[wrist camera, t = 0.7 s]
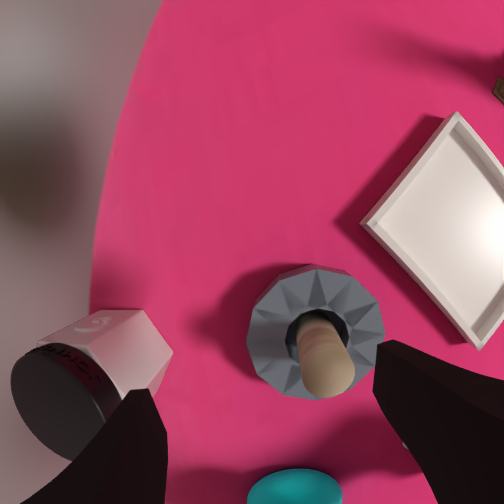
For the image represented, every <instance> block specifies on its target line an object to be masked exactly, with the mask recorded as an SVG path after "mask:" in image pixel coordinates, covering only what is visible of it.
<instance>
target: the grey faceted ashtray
mask: <svg viewBox="0 0 504 504" xmlns="http://www.w3.org/2000/svg"><path fill="white" fill-rule="evenodd" d="M313 310H316V311H321V312H323V313H325V314H326V315H327V316H328V317H329V318H330V320H331V322H332V324H333V326H334V328H335V330H336V331H337V333H338V335H339V337H340V339H341V341H342V343H343V345H344V346H345V348H346V350H347V352H348V354H349V356H350V358H351V360H352V362H353V364H354V367H355V376H354V379H353V381H352V383H351V385H350V386H349V387H348V388H347V389H346V390H345V391H348V390H350V389H351V388H352V387H353V386H354V385H356V384H357V383H358V382H359V381H360V380H361V379H362V378H363V377H364V376H365V375H366V374H367V373H368V372H369V371H370V370H371V369H372V368H373V367H374V366H375V363H376V352H377V344H380V343H383V340H384V336H385V331H384V326H383V321H382V317H381V312H380V308H379V304H378V301H377V300H376V299H375V298H374V297H373V296H372V295H371V294H370V293H369V292H368V291H367V290H366V289H365V288H364V287H363V286H362V285H361V284H360V283H359V282H358V281H357V280H356V279H355V278H354V277H353V276H351V275H350V274H349V273H347V272H346V271H344V270H339V269H334V268H330V267H325V266H321V265H316V264H309V265H306V266H303V267H300V268H297V269H293V270H290V271H287V272H284V273H281V274H279V275H278V276H277V277H276V278H275V279H274V280H273V281H272V282H271V283H270V284H269V285H268V287H267V288H266V289H265V290H264V291H263V292H262V293H261V294H260V295H259V296H258V297H257V298H256V300H255V304H254V307H253V312H252V316H251V321H250V325H249V330H248V334H247V339H246V345H247V348H248V351H249V354H250V357H251V359H252V362H253V365H254V368H255V370H256V373H257V375H258V376H260V377H261V378H262V379H263V380H265V381H266V382H267V383H268V384H270V385H271V386H272V387H274V388H275V389H276V390H277V391H279V392H280V393H281V394H282V395H287V396H292V397H298V398H304V399H310V400H319V399H323V397H318V396H315V395H313V394H311V393H310V392H309V391H307V389H306V388H305V386H304V384H303V381H302V375H301V368H300V361H299V354H298V348H297V341H296V334H295V325H296V322H297V320H298V318H299V317H300V316H301V315H302V314H304V313H306V312H308V311H313ZM345 391H344V392H345Z"/></svg>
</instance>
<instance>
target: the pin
mask: <svg viewBox="0 0 504 504" xmlns="http://www.w3.org/2000/svg"><path fill="white" fill-rule="evenodd" d="M295 334H296V341H297V348H298V354H299V361H300V368H301V375H302V381H303V384H304V386H305V388H306V389H307V391H309V392H310V393H311V394H313V395H315V396H318V397H323V398H328V397H333V396H337V395H339V394H341V393H342V392H344V391H345V390H346V389H347V388H348V387H349V386H350V385H351V383H352V381H353V379H354V376H355V367H354V364H353V362H352V360H351V358H350V356H349V354H348V352H347V350H346V348H345V346H344V345H343V343H342V341H341V339H340V337H339V335H338V333H337V331H336V330H335V328H334V326H333V324H332V322H331V320H330V318H329V317H328V316H327V315H326V314H325V313H323V312H321V311H316V310H313V311H308V312H306V313H304V314H302V315H301V316H300V317H299V318H298V320H297V322H296V325H295Z"/></svg>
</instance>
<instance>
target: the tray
mask: <svg viewBox="0 0 504 504" xmlns="http://www.w3.org/2000/svg"><path fill="white" fill-rule="evenodd" d="M359 224H360V225H361V226H362V227H363V228H364V229H365V230H366V231H367V232H368V233H369V234H370V235H371V236H372V237H373V238H374V239H375V240H376V241H377V242H378V243H379V244H380V245H381V246H382V247H383V248H384V249H385V250H386V251H387V252H388V253H389V254H390V255H391V256H392V257H393V259H394V260H395V261H396V262H397V263H398V264H399V265H400V266H401V267H402V268H403V269H404V270H405V271H406V272H407V273H408V274H409V276H410V277H411V278H412V279H413V280H414V281H415V282H416V283H417V284H418V285H419V286H420V288H421V289H422V290H423V291H424V292H425V293H426V294H427V295H428V297H429V298H430V299H431V300H432V301H433V302H434V303H435V304H436V306H437V307H438V308H439V309H440V310H441V311H442V313H443V314H444V315H445V316H446V317H447V318H448V320H449V321H450V322H451V323H452V324H453V326H454V327H455V328H456V329H457V330H458V332H459V333H460V334H461V335H462V336H463V338H464V339H465V340H466V341H467V343H469V344H470V345H472V346H473V347H475V348H476V349H478V350H479V351H480V350H481V349H482V347H483V346H484V345H485V344H486V342H487V341H488V340H489V338H490V337H491V336H492V334H493V333H494V332H495V331H496V329H497V328H498V326H499V325H500V324H501V322H502V321H503V320H504V168H503V166H502V165H501V164H500V162H499V161H498V160H497V158H496V157H495V156H494V154H493V153H492V152H491V151H490V149H489V148H488V147H487V146H486V144H485V143H484V142H483V141H482V139H481V138H480V137H479V136H478V135H477V133H476V132H475V131H474V130H473V129H472V127H471V126H470V125H469V124H468V123H467V122H466V121H465V119H464V118H463V117H462V116H461V115H460V114H459V113H458V112H457V111H456V112H454V113H453V114H451V115H449V116H448V117H446V118H445V119H444V120H443V121H442V123H441V124H440V125H439V127H438V128H437V129H436V130H435V132H434V133H433V134H432V136H431V137H430V138H429V139H428V141H427V142H426V143H425V145H424V146H423V147H422V148H421V150H420V151H419V152H418V153H417V155H416V156H415V157H414V158H413V160H412V161H411V162H410V163H409V165H408V166H407V167H406V168H405V170H404V171H403V172H402V173H401V174H400V176H399V177H398V178H397V179H396V180H395V182H394V183H393V184H392V185H391V187H390V188H389V189H388V190H387V191H386V192H385V194H384V195H383V196H382V197H381V198H380V200H379V201H378V202H377V203H376V204H375V205H374V207H373V208H372V209H371V210H370V211H369V212H368V214H367V215H366V216H365V217H364V218H363V219H362V221H361V222H360V223H359Z"/></svg>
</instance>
